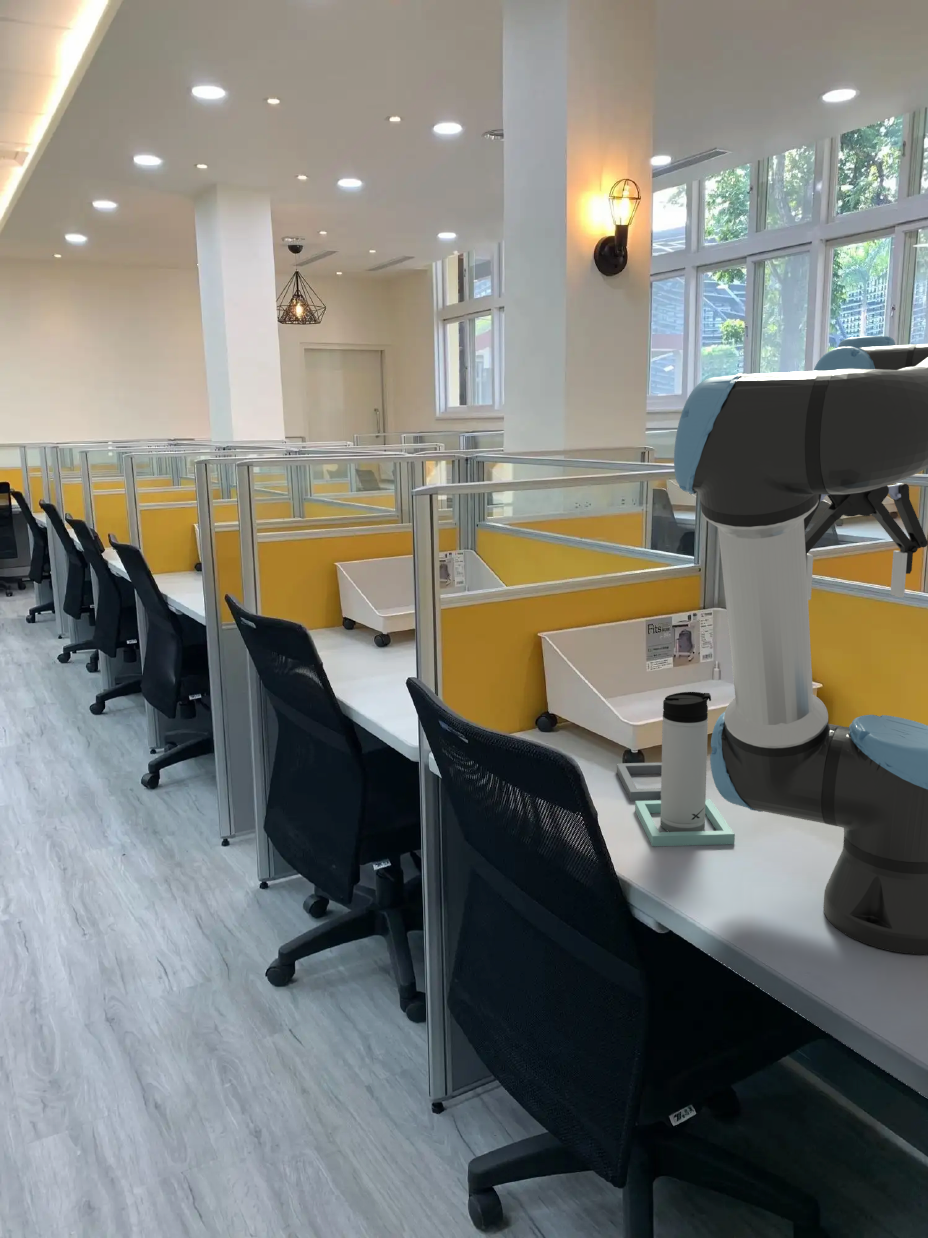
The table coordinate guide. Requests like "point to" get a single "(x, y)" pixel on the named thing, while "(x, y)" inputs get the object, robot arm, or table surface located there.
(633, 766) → the frame
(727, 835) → the frame
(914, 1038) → the table surface
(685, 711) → the travel mug
